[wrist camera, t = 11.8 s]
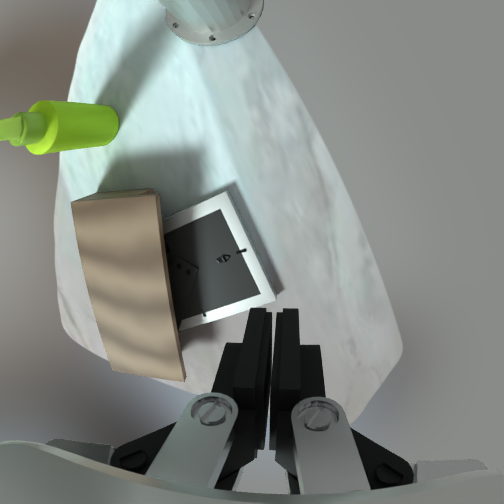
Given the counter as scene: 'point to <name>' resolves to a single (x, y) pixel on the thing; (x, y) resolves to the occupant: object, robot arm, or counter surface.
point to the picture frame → (213, 263)
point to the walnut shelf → (129, 281)
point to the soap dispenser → (61, 126)
